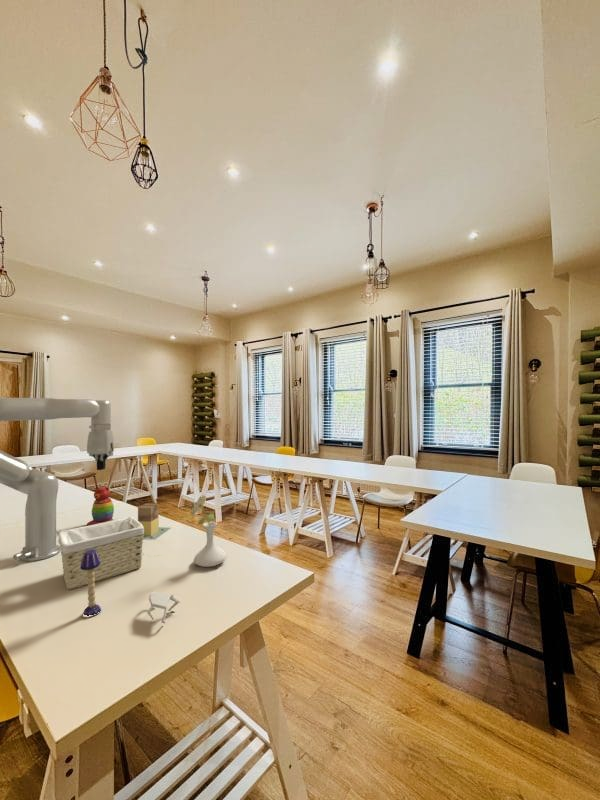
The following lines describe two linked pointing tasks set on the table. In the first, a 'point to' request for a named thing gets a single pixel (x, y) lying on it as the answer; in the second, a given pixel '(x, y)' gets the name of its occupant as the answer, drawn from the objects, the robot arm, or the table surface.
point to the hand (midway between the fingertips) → (101, 469)
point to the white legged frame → (161, 602)
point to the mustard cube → (150, 527)
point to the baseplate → (157, 534)
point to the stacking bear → (102, 507)
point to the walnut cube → (148, 512)
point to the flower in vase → (208, 540)
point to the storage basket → (101, 549)
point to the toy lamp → (91, 580)
